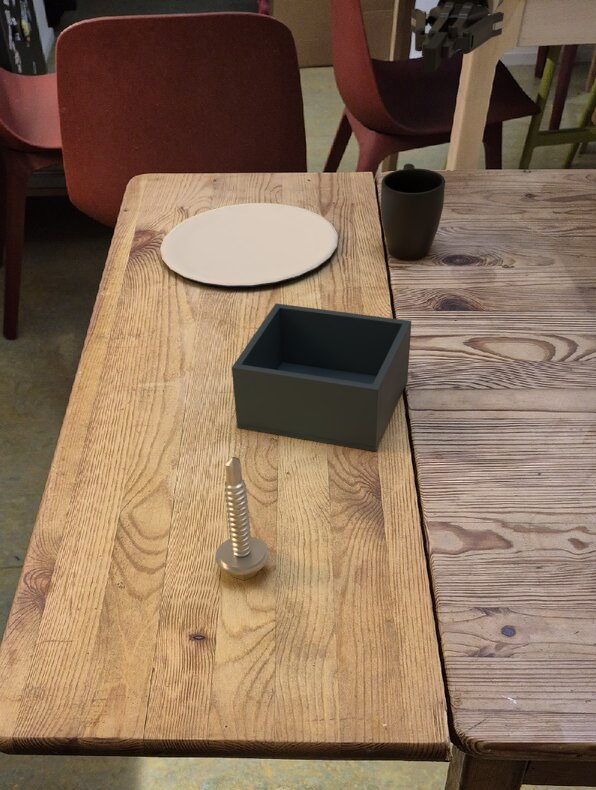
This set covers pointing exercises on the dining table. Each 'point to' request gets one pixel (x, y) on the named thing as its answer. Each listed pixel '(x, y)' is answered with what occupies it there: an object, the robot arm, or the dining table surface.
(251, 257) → the plate
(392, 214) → the mug
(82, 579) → the dining table surface
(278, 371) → the box
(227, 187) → the dining table surface
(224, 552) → the screw
